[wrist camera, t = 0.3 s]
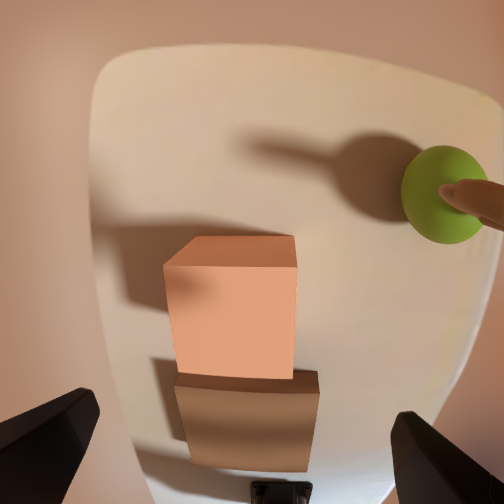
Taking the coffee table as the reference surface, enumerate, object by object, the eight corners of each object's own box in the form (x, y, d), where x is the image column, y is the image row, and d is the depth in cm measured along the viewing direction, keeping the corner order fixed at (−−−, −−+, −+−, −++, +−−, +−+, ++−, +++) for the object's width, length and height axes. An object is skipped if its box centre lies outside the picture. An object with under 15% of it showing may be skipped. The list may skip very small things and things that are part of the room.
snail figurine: (460, 242, 18) (582, 321, 6) (379, 221, 18) (489, 304, 7) (478, 166, 16) (616, 188, 5) (397, 136, 17) (530, 115, 5)
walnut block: (306, 448, 25) (306, 472, 22) (200, 441, 26) (193, 464, 23) (316, 367, 22) (319, 393, 19) (185, 361, 23) (173, 385, 20)
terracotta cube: (292, 323, 21) (292, 378, 15) (204, 320, 21) (178, 372, 16) (293, 235, 19) (297, 267, 13) (197, 235, 20) (162, 265, 14)
